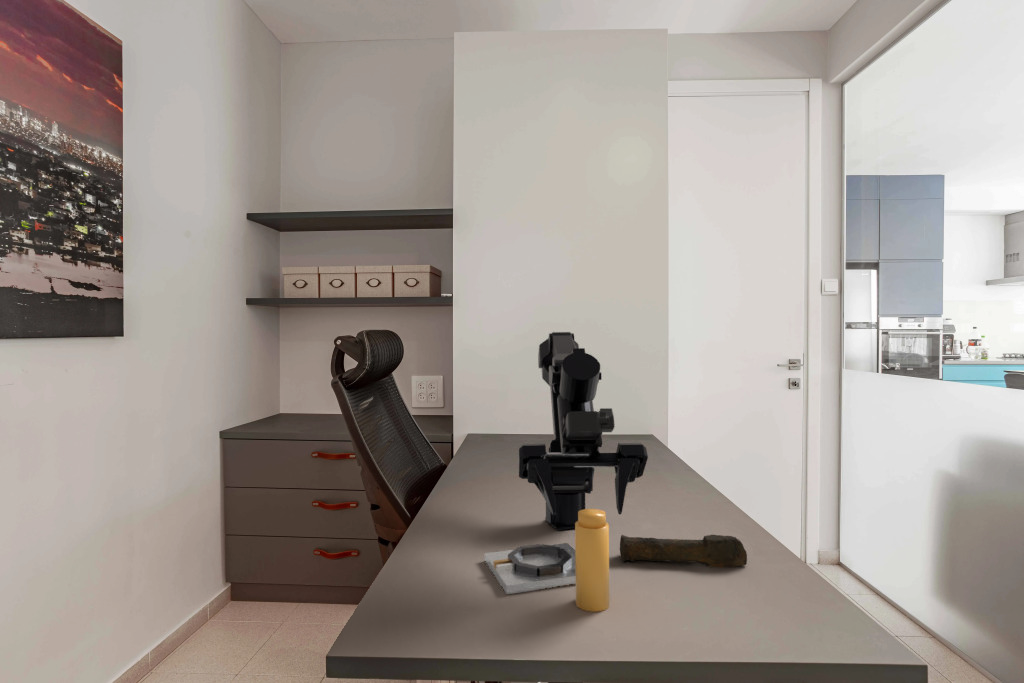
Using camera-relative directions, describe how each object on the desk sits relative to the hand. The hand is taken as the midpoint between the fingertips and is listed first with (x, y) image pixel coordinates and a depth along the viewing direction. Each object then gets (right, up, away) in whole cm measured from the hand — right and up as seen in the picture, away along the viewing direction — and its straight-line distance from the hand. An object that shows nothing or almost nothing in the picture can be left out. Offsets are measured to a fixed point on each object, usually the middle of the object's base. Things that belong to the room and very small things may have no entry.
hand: (587, 513), depth 79 cm
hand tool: (+16, -11, +10) cm, 22 cm away
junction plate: (-6, -11, +7) cm, 14 cm away
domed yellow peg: (0, -11, -4) cm, 11 cm away
